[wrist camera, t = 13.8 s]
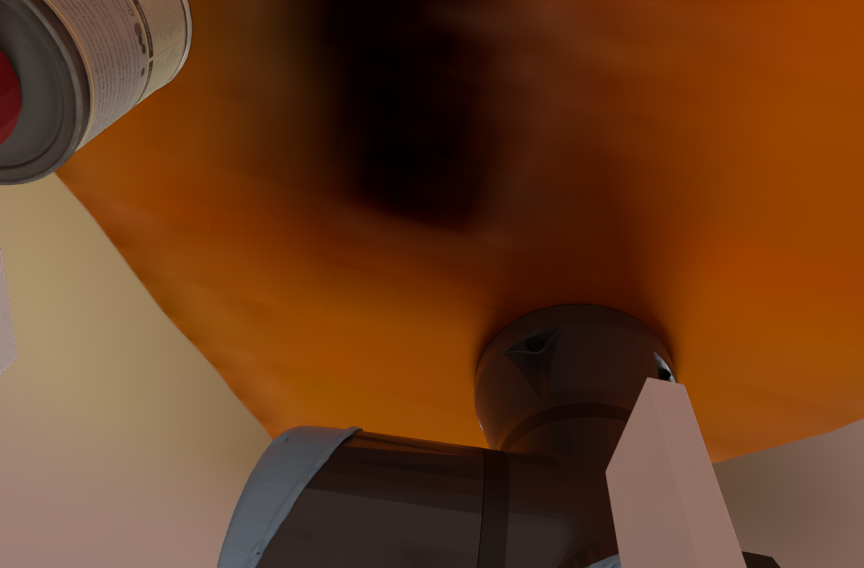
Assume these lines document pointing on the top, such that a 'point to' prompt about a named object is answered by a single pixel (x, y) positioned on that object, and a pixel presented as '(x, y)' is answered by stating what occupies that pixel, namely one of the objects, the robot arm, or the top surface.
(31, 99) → the coffee can
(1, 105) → the plastic cup
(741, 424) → the top surface
